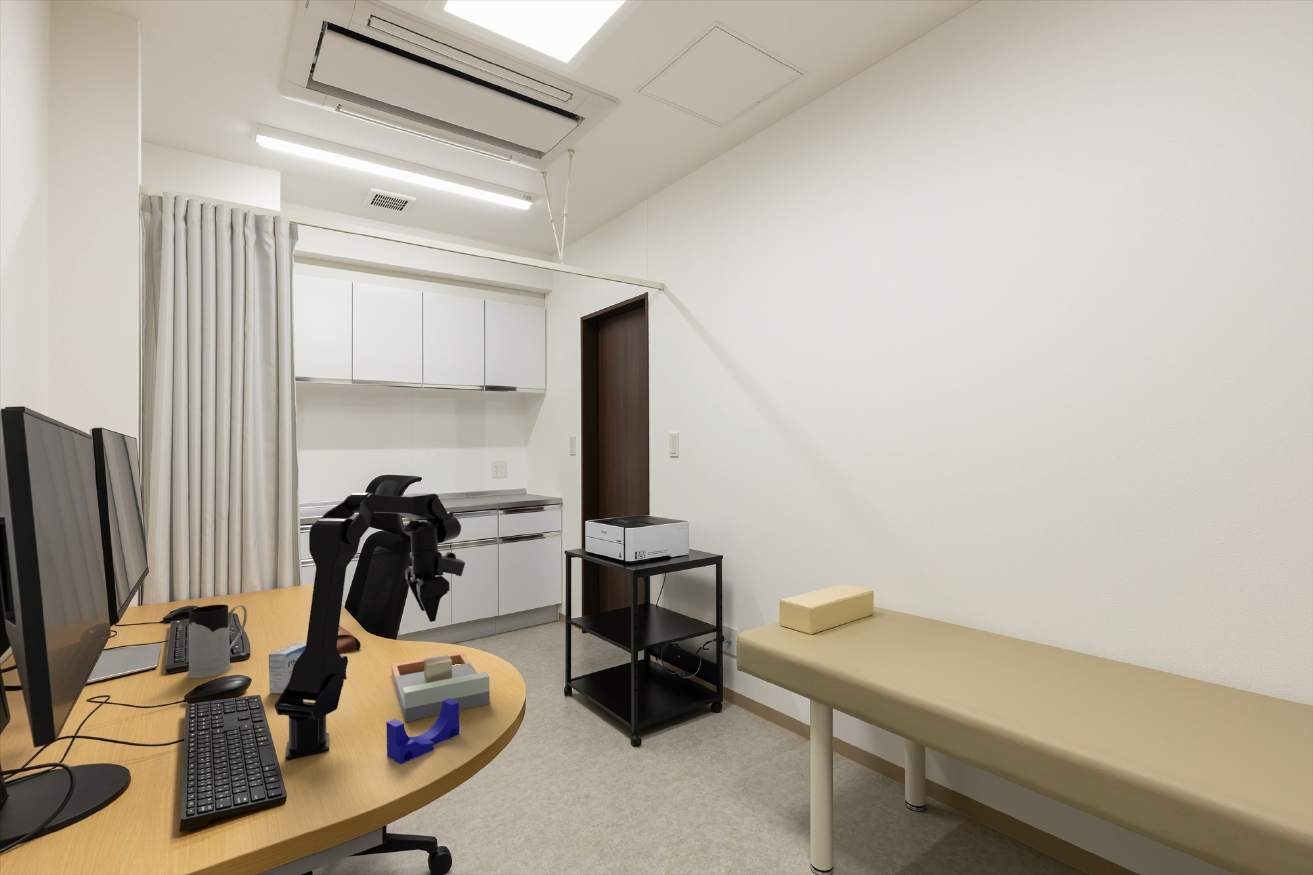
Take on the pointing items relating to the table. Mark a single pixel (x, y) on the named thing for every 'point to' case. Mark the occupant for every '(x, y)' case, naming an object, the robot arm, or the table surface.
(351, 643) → the sunglasses case
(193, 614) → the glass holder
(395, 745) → the blue cradle bracket
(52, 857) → the table surface
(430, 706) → the trap deck
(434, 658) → the birch block
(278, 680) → the medicine box
